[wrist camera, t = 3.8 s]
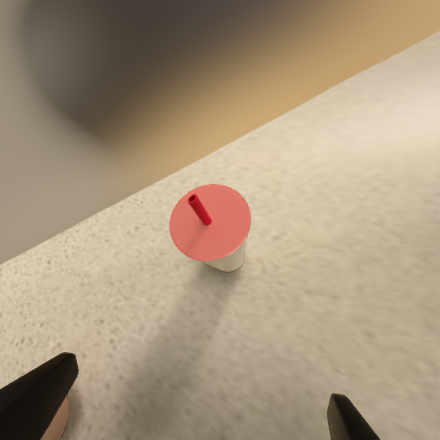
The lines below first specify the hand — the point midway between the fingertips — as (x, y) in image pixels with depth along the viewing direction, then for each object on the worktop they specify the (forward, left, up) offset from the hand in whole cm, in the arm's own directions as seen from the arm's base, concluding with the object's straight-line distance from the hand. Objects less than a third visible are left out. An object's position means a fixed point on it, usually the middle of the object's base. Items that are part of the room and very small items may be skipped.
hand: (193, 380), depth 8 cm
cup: (-3, +7, -13) cm, 15 cm away
